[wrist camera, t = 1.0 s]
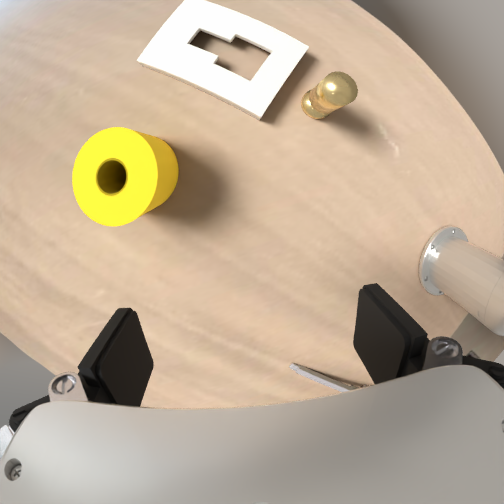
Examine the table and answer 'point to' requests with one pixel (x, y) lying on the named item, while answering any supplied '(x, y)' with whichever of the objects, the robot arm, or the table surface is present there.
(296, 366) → the caliper
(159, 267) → the table surface
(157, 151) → the yellow toilet paper roll
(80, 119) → the table surface
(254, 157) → the table surface
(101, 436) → the robot arm
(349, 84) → the brass peg
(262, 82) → the keyhole plate
